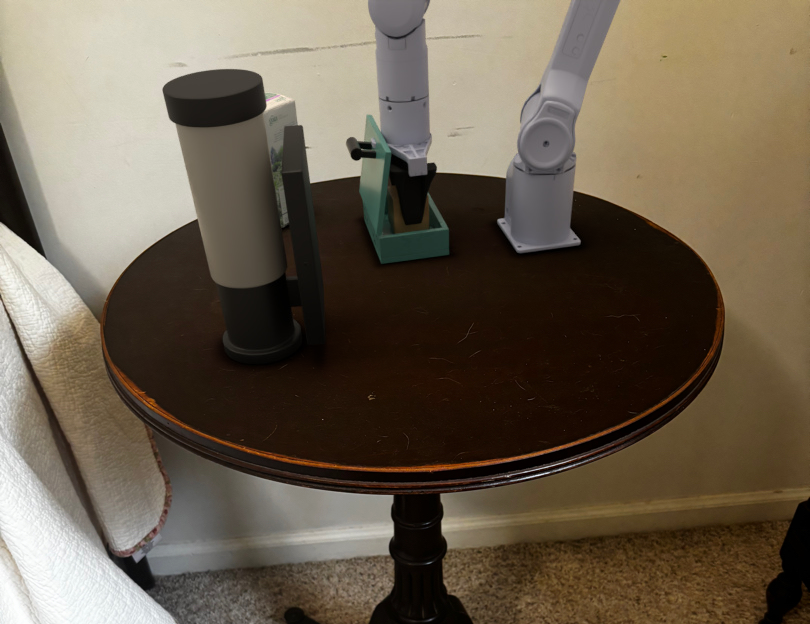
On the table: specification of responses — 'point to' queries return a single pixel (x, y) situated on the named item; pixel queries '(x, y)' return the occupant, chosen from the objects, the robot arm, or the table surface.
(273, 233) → the light fixture
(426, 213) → the block
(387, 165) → the lid
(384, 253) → the teal box base
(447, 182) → the table surface
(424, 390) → the table surface
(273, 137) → the syrup box
